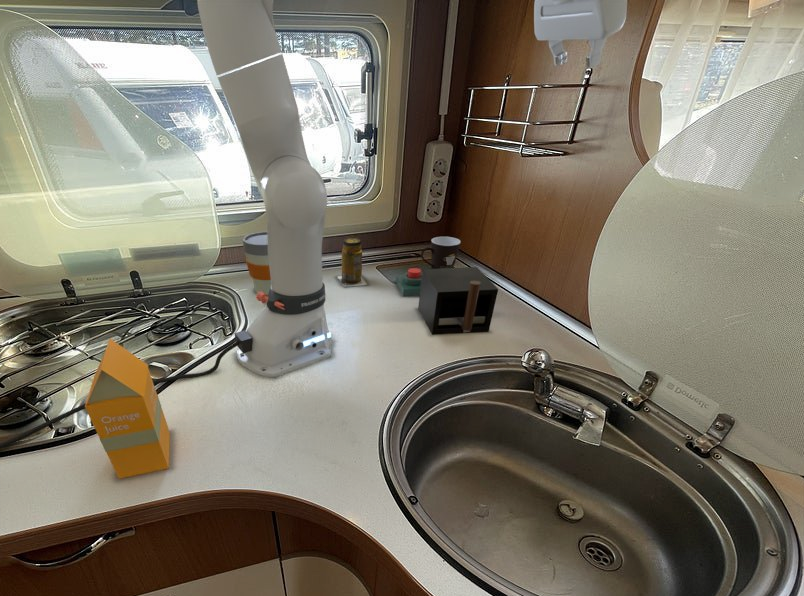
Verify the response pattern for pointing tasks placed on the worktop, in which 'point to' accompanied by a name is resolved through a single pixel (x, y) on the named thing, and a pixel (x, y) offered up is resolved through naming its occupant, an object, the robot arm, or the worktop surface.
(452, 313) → the tray
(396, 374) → the worktop surface
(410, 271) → the stop button
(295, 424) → the worktop surface
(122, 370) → the orange juice
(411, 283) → the control box
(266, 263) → the reusable coffee cup
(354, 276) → the condiment
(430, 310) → the oven
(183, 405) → the worktop surface
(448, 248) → the coffee mug
